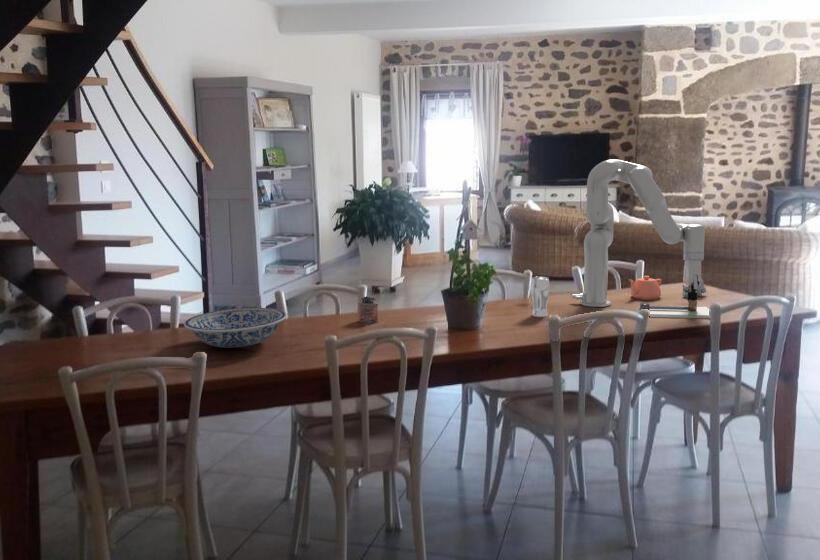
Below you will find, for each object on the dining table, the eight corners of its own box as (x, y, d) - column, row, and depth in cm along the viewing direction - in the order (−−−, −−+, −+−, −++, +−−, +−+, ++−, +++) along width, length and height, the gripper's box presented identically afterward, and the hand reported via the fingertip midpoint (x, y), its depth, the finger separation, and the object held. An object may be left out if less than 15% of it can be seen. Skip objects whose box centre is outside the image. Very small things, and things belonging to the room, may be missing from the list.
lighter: (357, 321, 291) (356, 296, 289) (362, 319, 294) (361, 294, 292) (375, 323, 287) (375, 297, 285) (380, 321, 290) (379, 296, 288)
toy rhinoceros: (678, 301, 330) (673, 284, 327) (696, 288, 335) (691, 272, 332) (691, 304, 324) (687, 287, 321) (709, 291, 329) (705, 274, 326)
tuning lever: (640, 309, 297) (640, 299, 296) (639, 307, 301) (639, 298, 300) (697, 311, 293) (698, 301, 293) (695, 309, 297) (696, 299, 296)
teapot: (670, 298, 326) (671, 276, 324) (637, 302, 318) (638, 280, 317) (650, 293, 336) (651, 272, 335) (618, 297, 329) (619, 275, 327)
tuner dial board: (645, 317, 290) (645, 314, 290) (639, 308, 306) (639, 305, 306) (716, 319, 286) (716, 316, 286) (706, 309, 302) (706, 306, 302)
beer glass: (547, 313, 300) (548, 276, 297) (549, 317, 293) (550, 279, 290) (530, 313, 300) (530, 276, 298) (531, 317, 294) (531, 279, 291)
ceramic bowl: (224, 329, 281) (223, 303, 280) (305, 336, 269) (304, 309, 267) (163, 353, 250) (161, 324, 248) (252, 363, 238) (250, 332, 236)
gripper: (679, 253, 303) (678, 298, 306) (687, 258, 288) (686, 305, 291) (699, 253, 302) (697, 298, 305) (708, 258, 287) (706, 305, 290)
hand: (692, 301), depth 298 cm, fingers closed
